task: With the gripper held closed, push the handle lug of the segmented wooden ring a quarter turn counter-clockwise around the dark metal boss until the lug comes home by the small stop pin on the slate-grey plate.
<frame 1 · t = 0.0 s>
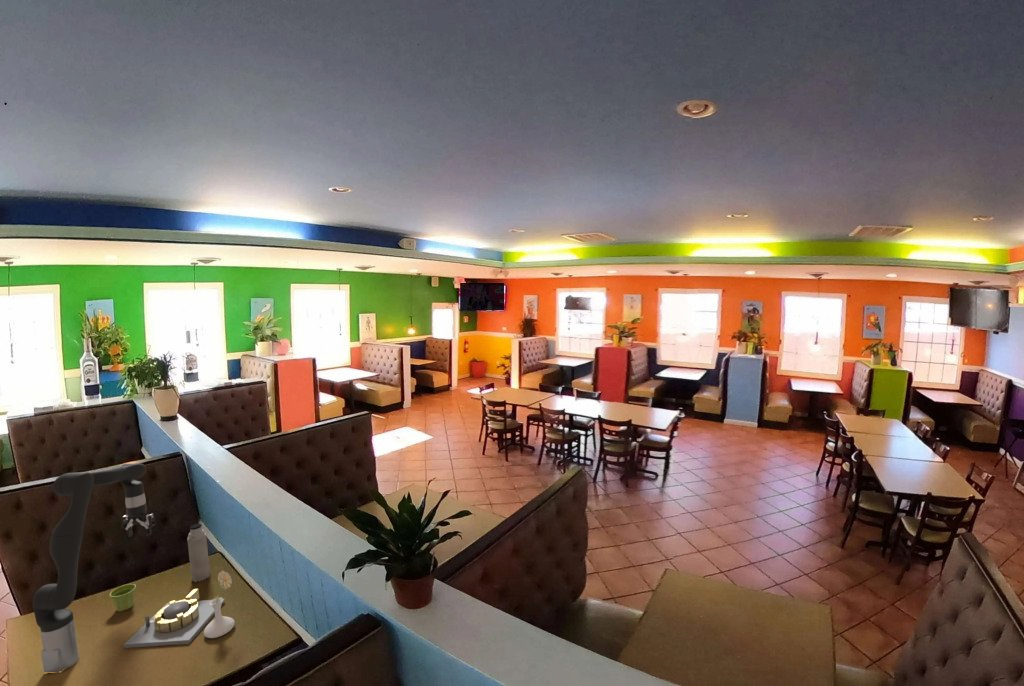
hand: (139, 535, 223), 29 cm above the table, fingers open, 8 cm apart
boss plate: (177, 623, 203), on the table
thermos bottle: (201, 577, 237), on the table
flower in vase: (221, 630, 198), on the table
plant pot: (125, 607, 215), on the table
segmented wooden ring: (181, 608, 206), point 5 cm above the table, hinge at 0.0°
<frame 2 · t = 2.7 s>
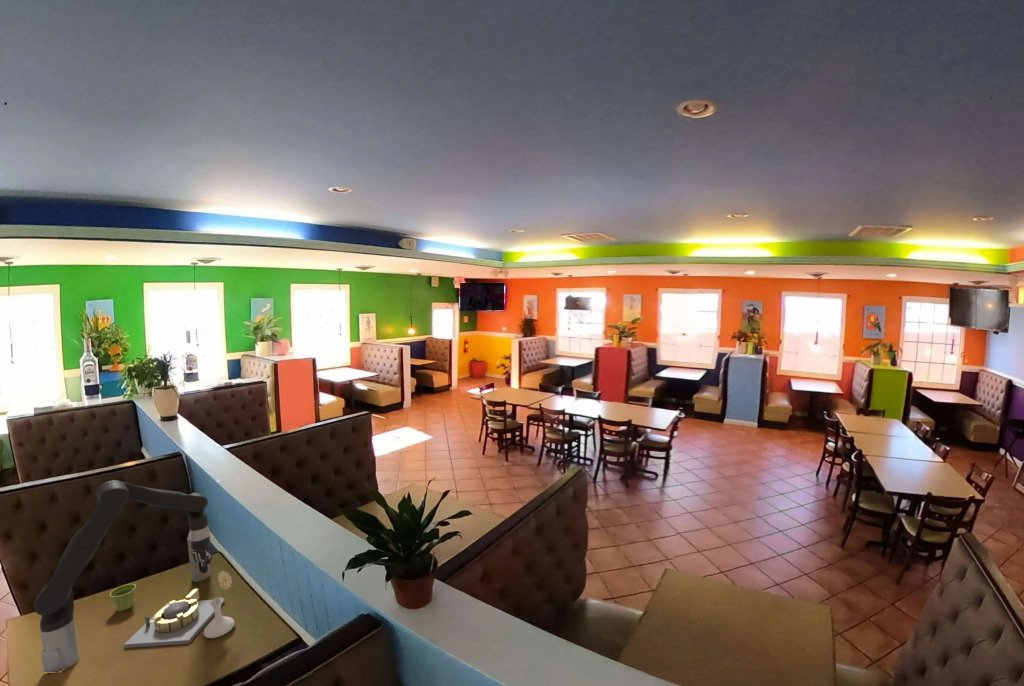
hand: (203, 571, 213), 17 cm above the table, fingers closed
nothing on the table moved.
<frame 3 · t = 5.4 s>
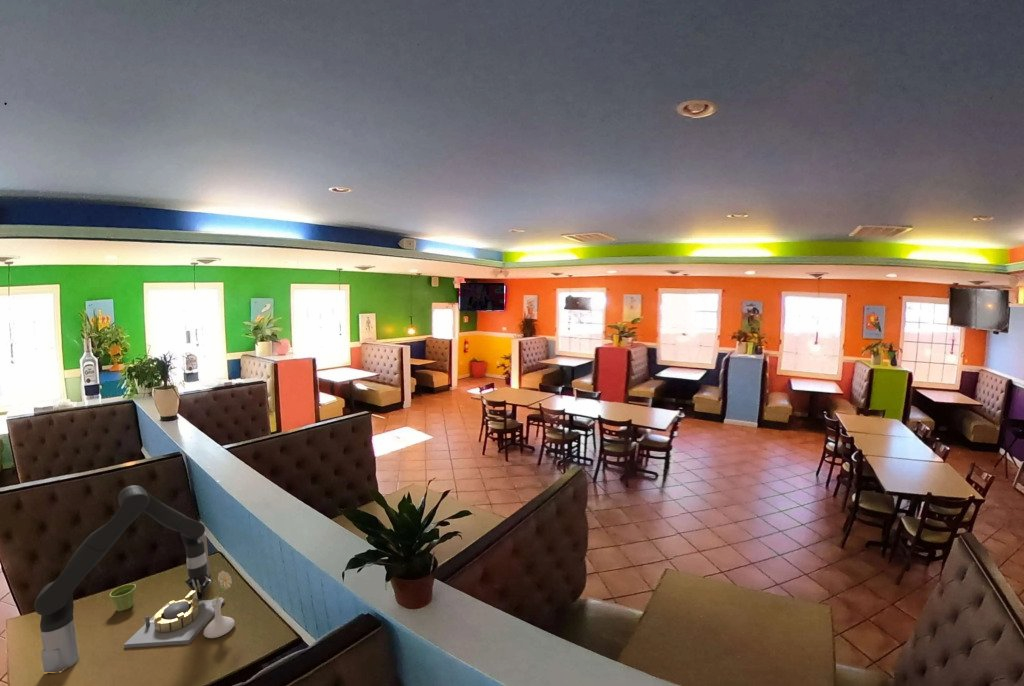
hand: (201, 598, 215), 4 cm above the table, fingers closed
segmented wooden ring: (181, 608, 206), point 5 cm above the table, hinge at 1.5°, touching gripper
everything else where it was.
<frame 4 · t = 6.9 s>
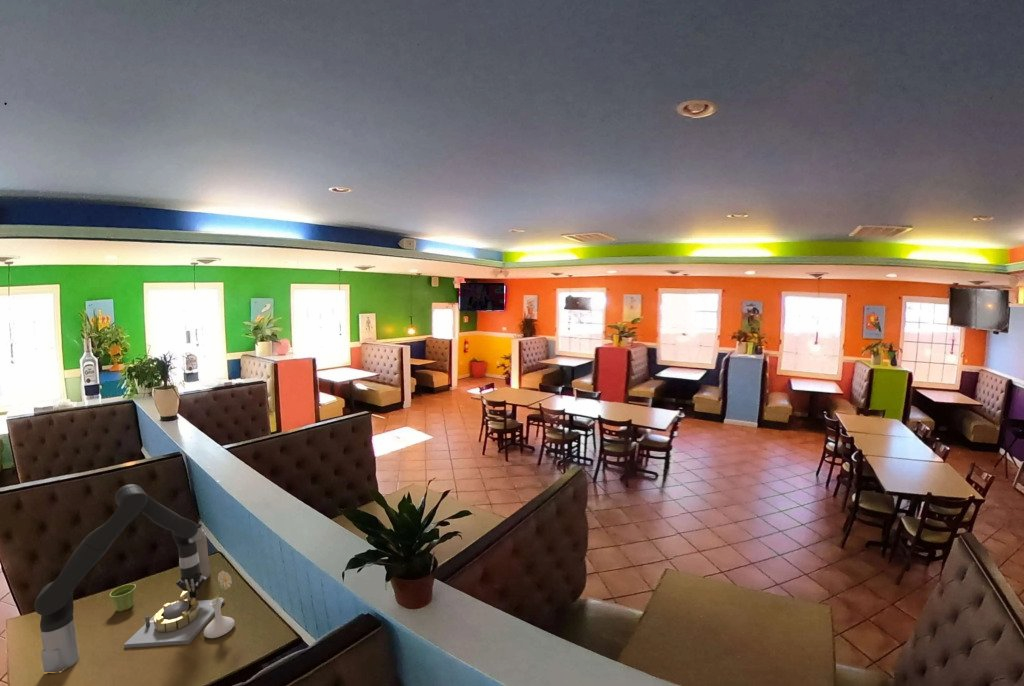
hand: (194, 597, 215), 4 cm above the table, fingers closed
segmented wooden ring: (178, 609, 206), point 5 cm above the table, hinge at 18.3°, touching gripper
everything else where it was.
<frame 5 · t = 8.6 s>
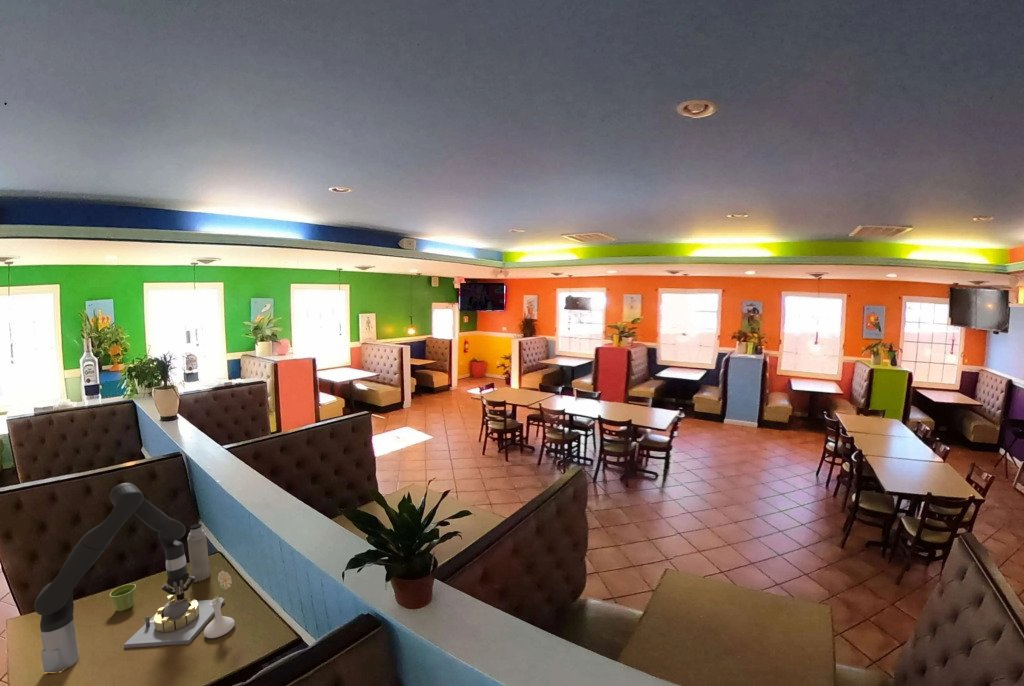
hand: (180, 600, 213), 4 cm above the table, fingers closed
segmented wooden ring: (175, 610, 205), point 5 cm above the table, hinge at 43.0°, touching gripper
everything else where it was.
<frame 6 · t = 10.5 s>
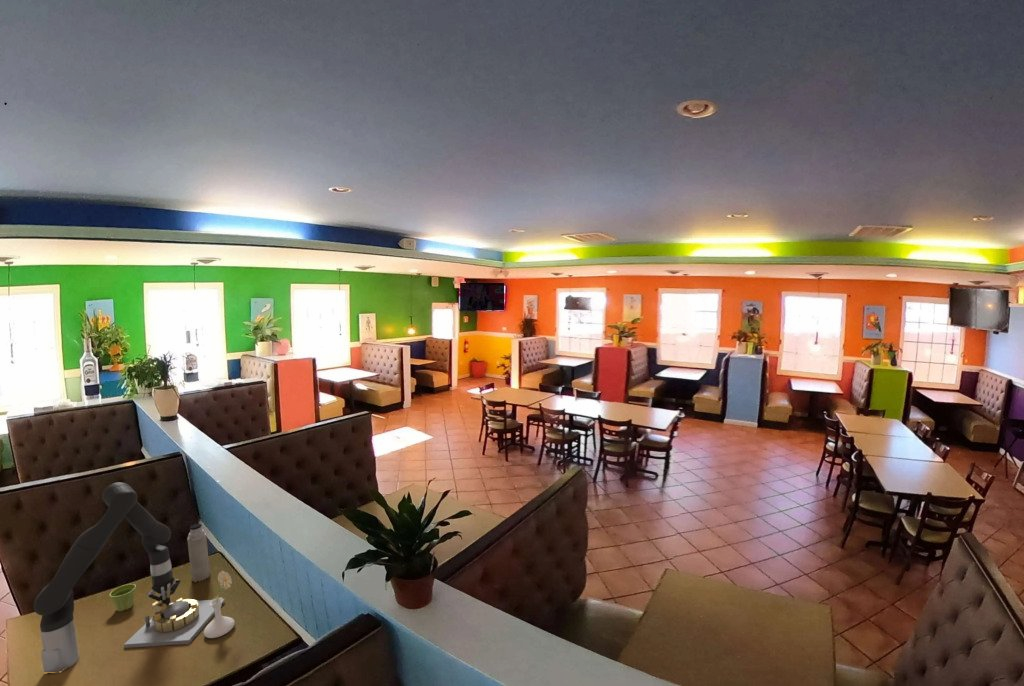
hand: (166, 605, 210), 4 cm above the table, fingers closed
segmented wooden ring: (171, 612, 204), point 5 cm above the table, hinge at 68.2°, touching gripper
everything else where it was.
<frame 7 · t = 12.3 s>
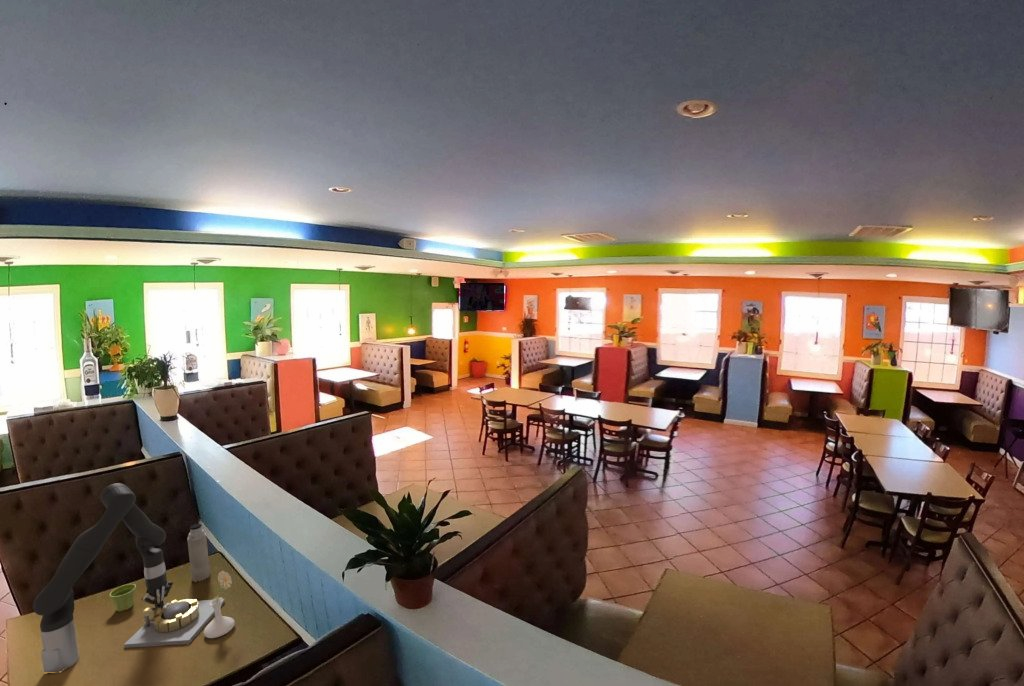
hand: (159, 609, 208), 4 cm above the table, fingers closed
segmented wooden ring: (169, 613, 203), point 5 cm above the table, hinge at 85.8°
everything else where it was.
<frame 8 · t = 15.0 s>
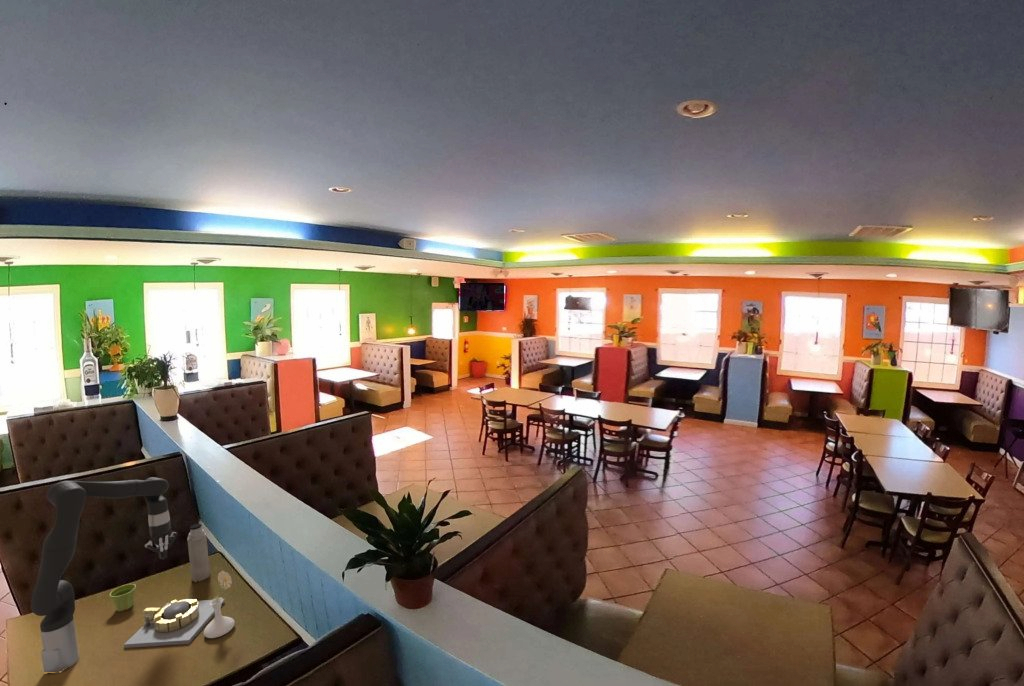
hand: (163, 558, 207), 27 cm above the table, fingers closed
nothing on the table moved.
at the end: segmented wooden ring at +86° (first picture: +0°); segmented wooden ring touching nothing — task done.
